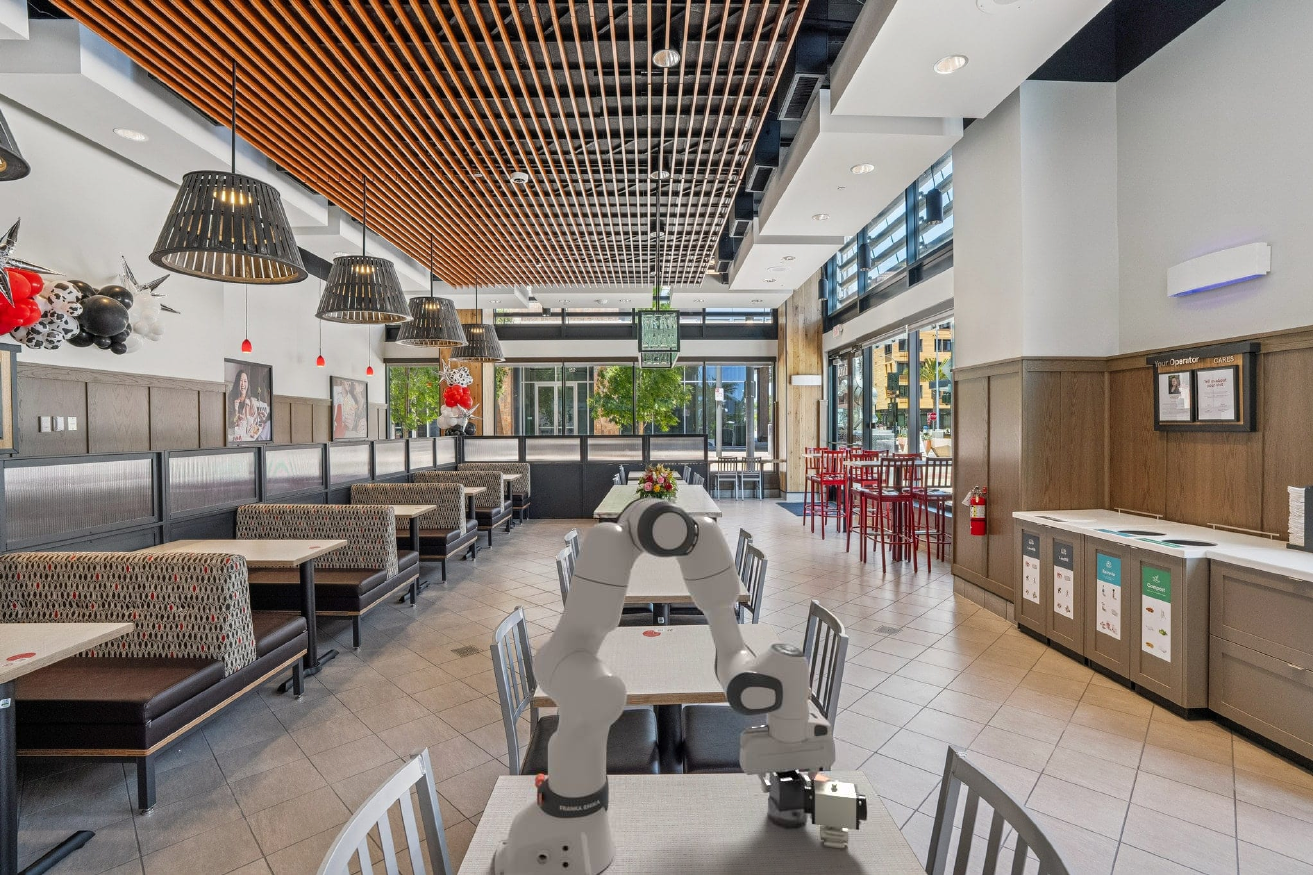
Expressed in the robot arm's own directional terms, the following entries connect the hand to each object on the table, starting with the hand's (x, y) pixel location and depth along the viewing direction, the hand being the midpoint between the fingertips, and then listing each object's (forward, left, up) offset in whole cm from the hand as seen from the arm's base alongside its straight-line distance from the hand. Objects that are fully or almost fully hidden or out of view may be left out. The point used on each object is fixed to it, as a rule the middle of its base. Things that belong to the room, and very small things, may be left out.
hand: (787, 788), depth 128 cm
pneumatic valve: (+6, -9, -6) cm, 12 cm away
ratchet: (+4, +3, -6) cm, 8 cm away
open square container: (0, 0, -3) cm, 3 cm away
